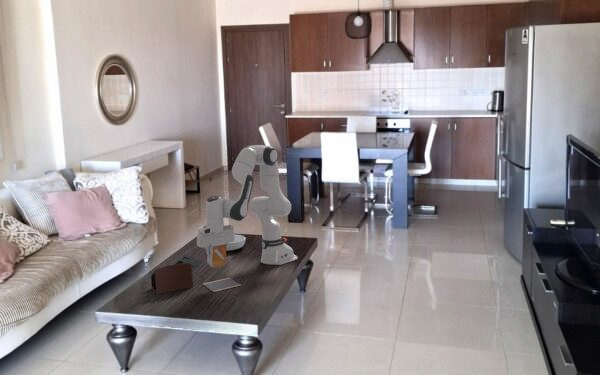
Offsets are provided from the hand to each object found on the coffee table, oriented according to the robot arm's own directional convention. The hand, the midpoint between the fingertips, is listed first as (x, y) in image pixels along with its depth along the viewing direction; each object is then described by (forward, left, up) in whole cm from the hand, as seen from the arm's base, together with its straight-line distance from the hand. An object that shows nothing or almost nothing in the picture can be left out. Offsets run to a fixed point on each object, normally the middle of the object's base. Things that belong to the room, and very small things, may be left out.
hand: (216, 252), depth 308 cm
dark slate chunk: (+3, -40, -19) cm, 45 cm away
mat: (-2, 0, -19) cm, 19 cm away
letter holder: (+21, -13, -19) cm, 31 cm away
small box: (0, -1, -7) cm, 7 cm away
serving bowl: (-34, -57, -19) cm, 69 cm away
